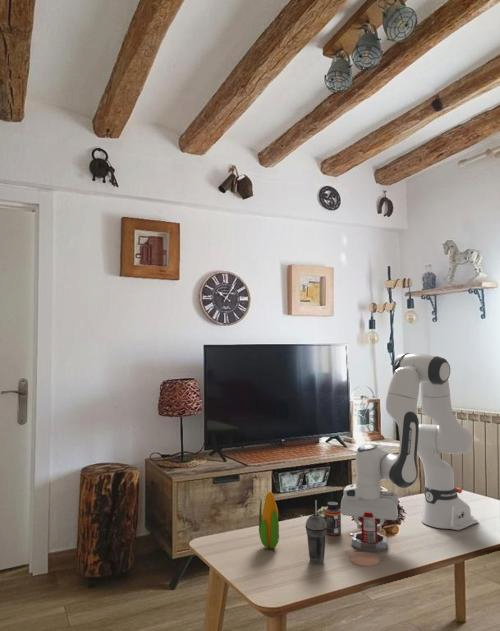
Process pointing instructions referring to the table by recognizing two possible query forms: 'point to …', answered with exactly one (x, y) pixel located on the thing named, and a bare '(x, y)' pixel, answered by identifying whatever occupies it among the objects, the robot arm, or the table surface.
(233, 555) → the table surface
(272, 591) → the table surface
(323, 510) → the fruit
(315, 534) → the beverage cup
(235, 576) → the table surface
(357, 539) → the collar
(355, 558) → the peach dome
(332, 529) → the supplement bottle
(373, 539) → the soda can
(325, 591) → the table surface
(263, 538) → the corn
